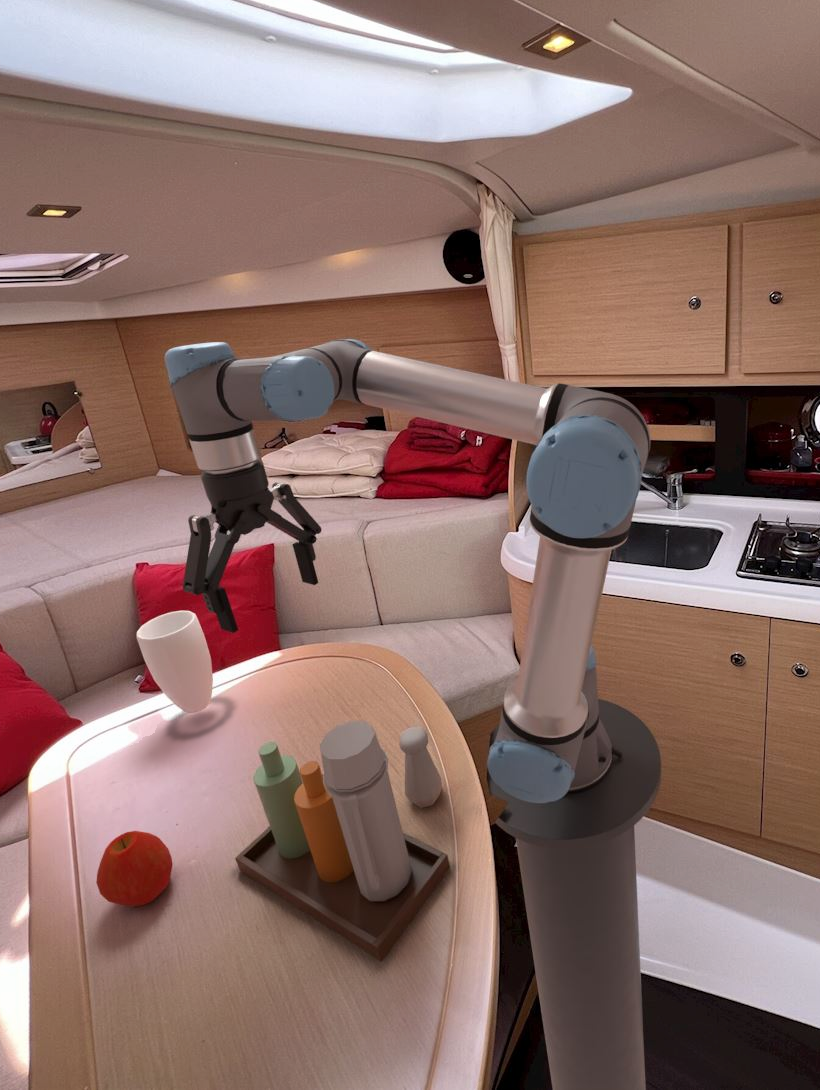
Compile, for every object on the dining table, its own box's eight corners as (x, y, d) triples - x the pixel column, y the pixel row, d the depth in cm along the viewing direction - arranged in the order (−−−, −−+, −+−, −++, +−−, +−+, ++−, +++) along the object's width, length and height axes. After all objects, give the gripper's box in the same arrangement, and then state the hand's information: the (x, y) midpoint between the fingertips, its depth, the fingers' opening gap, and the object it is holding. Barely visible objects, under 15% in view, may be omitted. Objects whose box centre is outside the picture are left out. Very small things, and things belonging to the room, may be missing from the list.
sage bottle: (320, 821, 93) (292, 729, 86) (316, 852, 87) (285, 757, 81) (282, 830, 91) (250, 738, 85) (275, 863, 86) (241, 768, 80)
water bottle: (360, 862, 85) (320, 724, 76) (416, 850, 86) (383, 712, 77) (351, 927, 77) (305, 780, 68) (414, 912, 78) (376, 766, 69)
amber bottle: (360, 841, 89) (333, 747, 82) (358, 876, 83) (329, 778, 77) (320, 852, 87) (289, 757, 81) (315, 887, 82) (283, 789, 76)
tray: (450, 867, 84) (447, 854, 83) (381, 961, 73) (377, 948, 72) (315, 799, 97) (311, 787, 96) (239, 870, 86) (234, 858, 85)
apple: (102, 930, 80) (71, 874, 76) (125, 874, 87) (98, 821, 83) (170, 910, 82) (143, 855, 78) (187, 857, 89) (164, 804, 85)
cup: (233, 693, 124) (201, 603, 116) (228, 725, 115) (194, 630, 107) (176, 709, 121) (139, 618, 113) (167, 743, 112) (126, 647, 104)
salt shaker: (404, 814, 93) (388, 749, 88) (411, 784, 98) (396, 721, 94) (441, 810, 93) (428, 745, 88) (446, 781, 98) (434, 718, 94)
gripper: (291, 437, 91) (322, 562, 99) (114, 495, 71) (172, 646, 79) (325, 440, 87) (355, 569, 95) (150, 502, 67) (206, 659, 75)
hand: (272, 604), depth 87 cm, fingers open, 13 cm apart
